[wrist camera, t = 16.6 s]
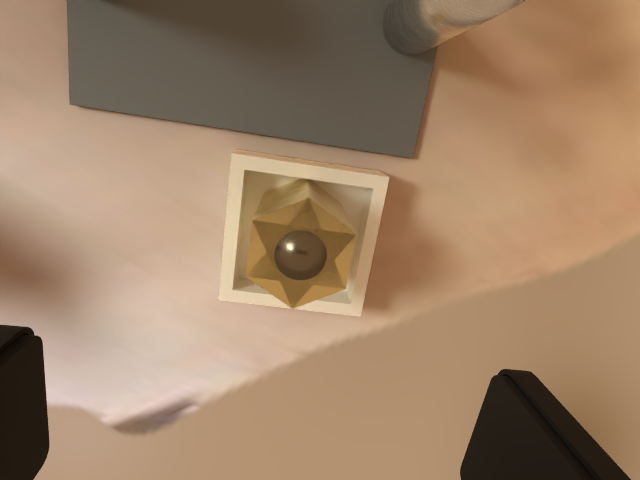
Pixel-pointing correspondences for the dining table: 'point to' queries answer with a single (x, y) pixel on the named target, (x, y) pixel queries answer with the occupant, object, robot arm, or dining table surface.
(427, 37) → the silver peg rack
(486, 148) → the dining table surface
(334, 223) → the amber perfume bottle
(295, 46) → the mat
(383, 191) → the dish
